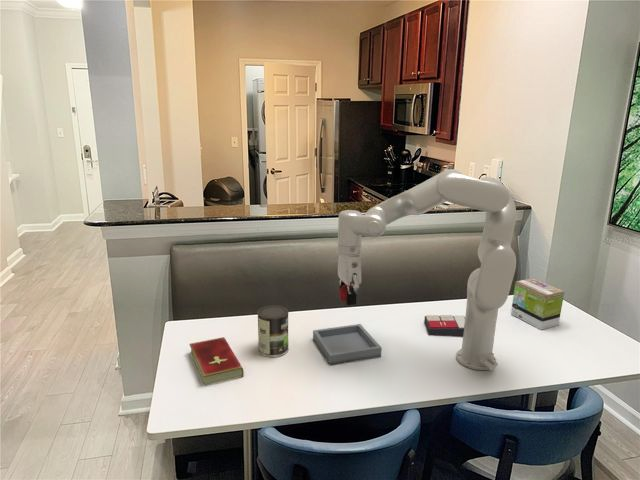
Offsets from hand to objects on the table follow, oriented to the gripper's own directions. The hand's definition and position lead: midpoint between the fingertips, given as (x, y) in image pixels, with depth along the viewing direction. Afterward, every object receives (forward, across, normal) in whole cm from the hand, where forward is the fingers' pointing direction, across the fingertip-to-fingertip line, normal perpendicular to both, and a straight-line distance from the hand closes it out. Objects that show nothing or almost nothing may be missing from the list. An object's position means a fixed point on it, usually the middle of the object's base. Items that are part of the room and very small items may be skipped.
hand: (347, 300), depth 155 cm
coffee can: (+18, +6, +24) cm, 31 cm away
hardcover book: (+18, +2, +44) cm, 47 cm away
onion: (+2, 0, 0) cm, 2 cm away
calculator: (+18, +2, -41) cm, 45 cm away
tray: (+18, 0, 0) cm, 18 cm away
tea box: (+18, -1, -79) cm, 81 cm away
